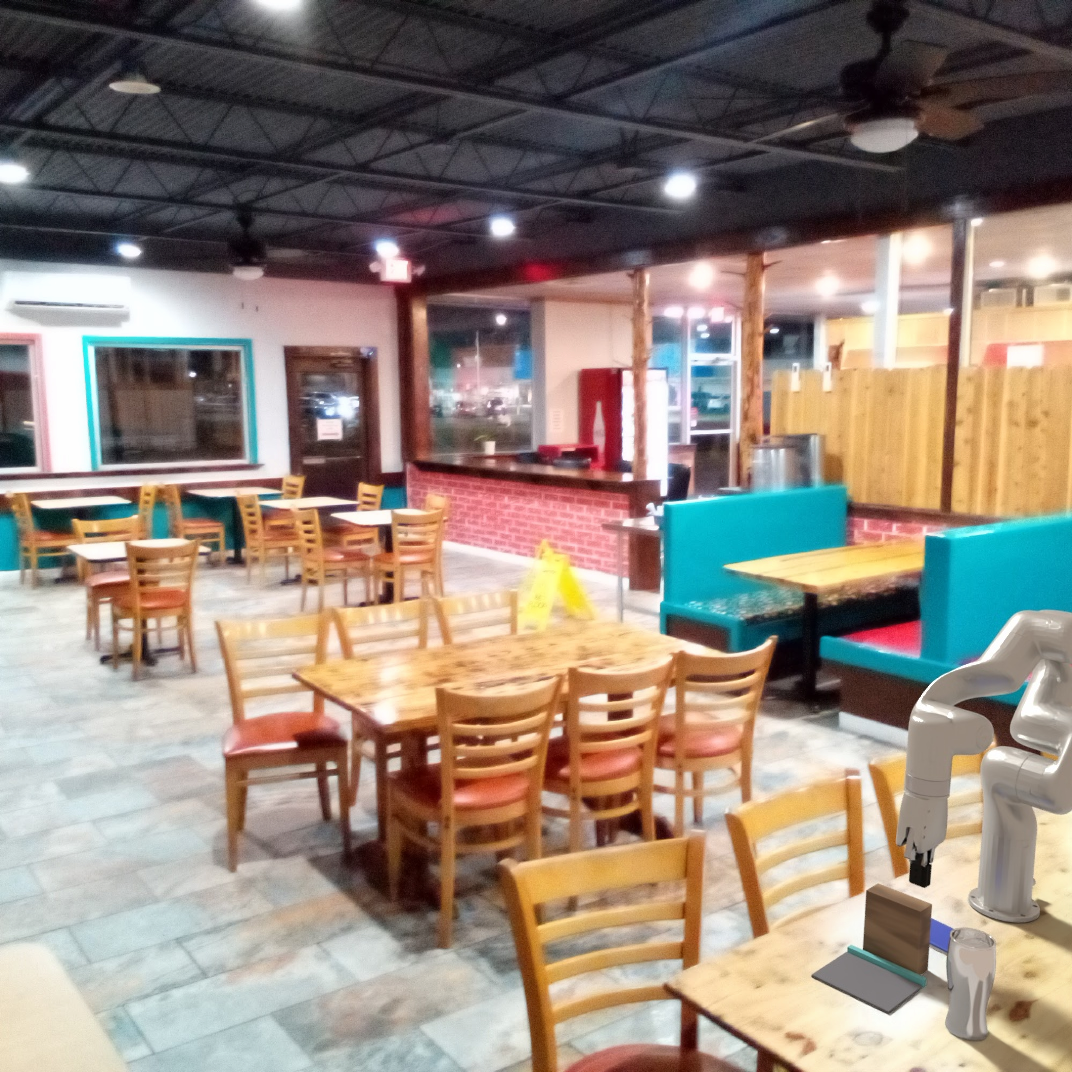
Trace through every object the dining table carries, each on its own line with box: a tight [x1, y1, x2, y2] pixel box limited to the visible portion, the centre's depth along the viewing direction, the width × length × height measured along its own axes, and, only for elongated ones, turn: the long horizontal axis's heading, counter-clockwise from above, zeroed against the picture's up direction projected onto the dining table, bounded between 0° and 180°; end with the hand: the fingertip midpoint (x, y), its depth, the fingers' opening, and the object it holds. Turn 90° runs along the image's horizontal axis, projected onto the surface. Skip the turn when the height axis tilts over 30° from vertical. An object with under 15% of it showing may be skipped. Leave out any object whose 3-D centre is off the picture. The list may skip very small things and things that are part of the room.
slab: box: [862, 883, 933, 976], centre depth 175 cm, size 4×10×12 cm, turn 42°
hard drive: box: [929, 917, 954, 956], centre depth 182 cm, size 2×8×12 cm
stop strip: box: [846, 944, 928, 988], centre depth 173 cm, size 1×14×1 cm, turn 42°
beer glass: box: [944, 927, 997, 1042], centre depth 156 cm, size 7×7×15 cm
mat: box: [811, 951, 923, 1015], centre depth 169 cm, size 11×14×1 cm
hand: (919, 883), depth 179 cm, fingers closed
